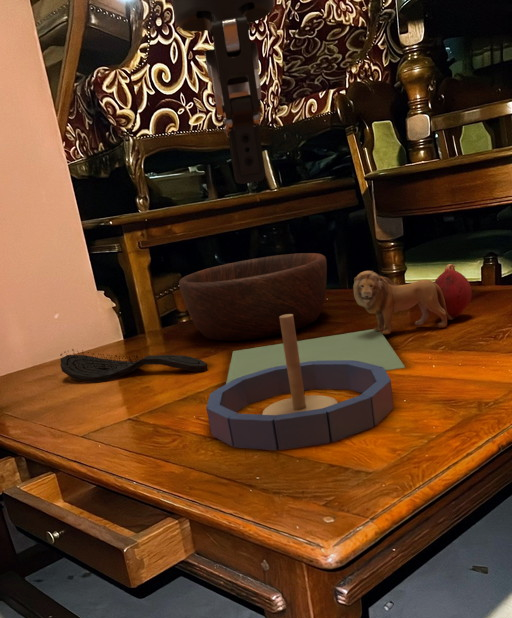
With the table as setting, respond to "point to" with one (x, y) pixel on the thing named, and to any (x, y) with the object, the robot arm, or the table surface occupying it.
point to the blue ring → (304, 424)
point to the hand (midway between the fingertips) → (249, 182)
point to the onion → (454, 291)
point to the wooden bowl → (255, 295)
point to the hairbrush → (121, 365)
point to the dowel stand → (295, 377)
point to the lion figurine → (397, 299)
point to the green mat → (319, 353)
